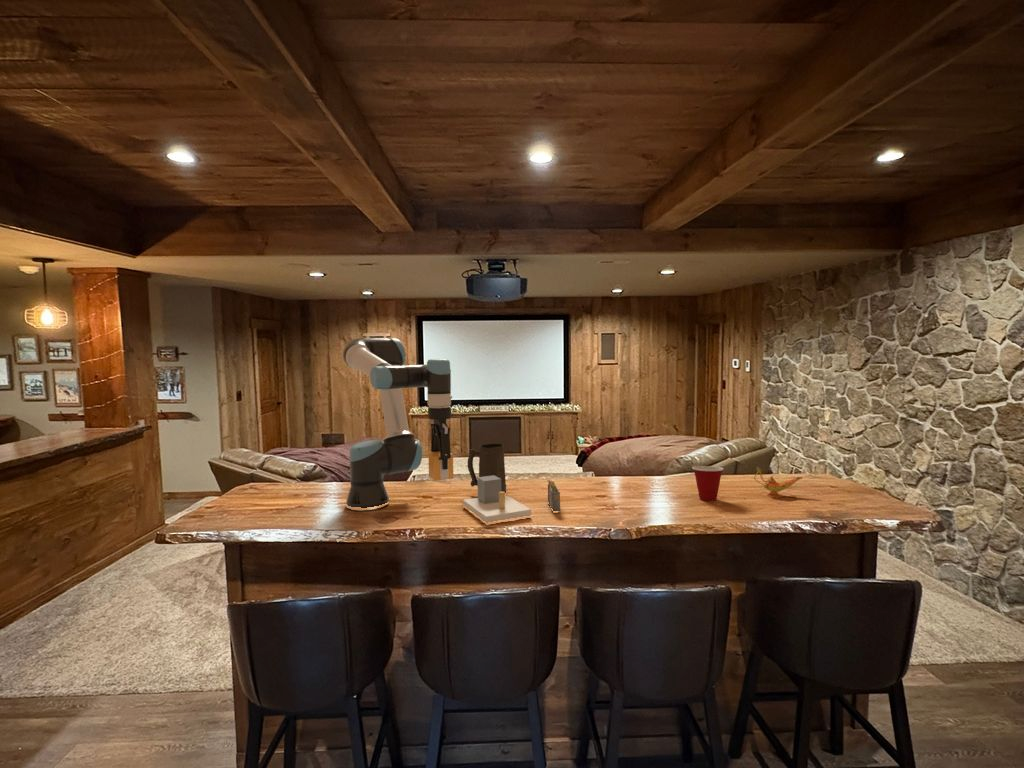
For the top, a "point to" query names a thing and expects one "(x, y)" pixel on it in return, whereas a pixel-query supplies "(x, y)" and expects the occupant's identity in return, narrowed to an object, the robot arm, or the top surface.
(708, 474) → the plastic cup
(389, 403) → the robot arm
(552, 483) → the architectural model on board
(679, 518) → the top surface
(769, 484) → the magic lamp
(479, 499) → the assembly base with peg
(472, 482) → the beer stein
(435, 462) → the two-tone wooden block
